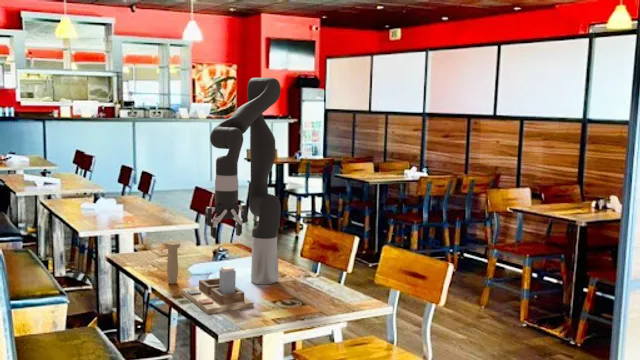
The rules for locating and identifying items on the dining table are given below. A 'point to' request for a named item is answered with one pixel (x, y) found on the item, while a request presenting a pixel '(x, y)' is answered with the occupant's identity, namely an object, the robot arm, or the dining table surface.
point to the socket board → (216, 297)
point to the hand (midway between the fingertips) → (226, 236)
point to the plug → (227, 280)
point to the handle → (172, 261)
